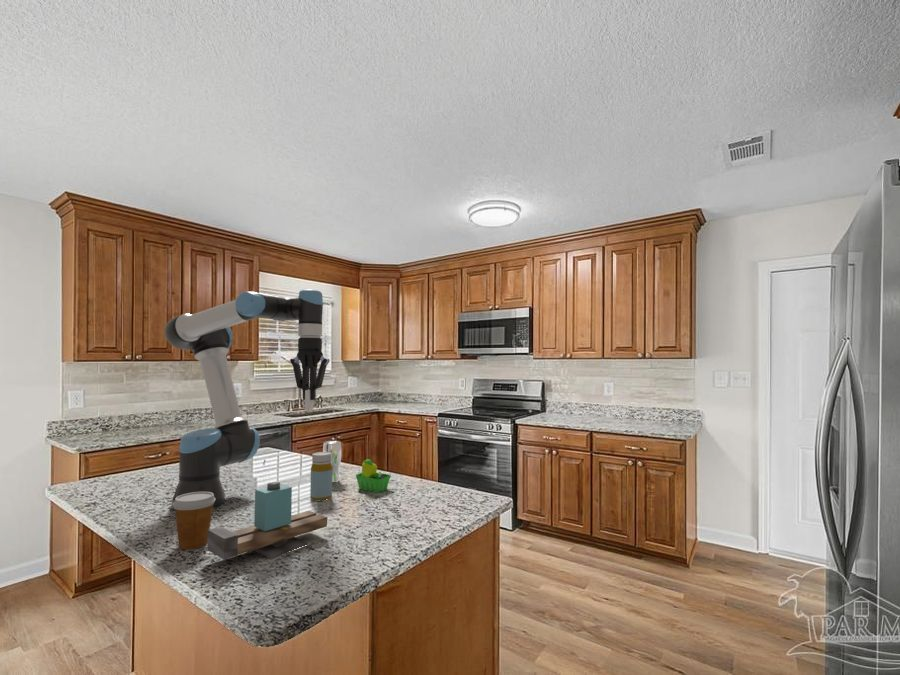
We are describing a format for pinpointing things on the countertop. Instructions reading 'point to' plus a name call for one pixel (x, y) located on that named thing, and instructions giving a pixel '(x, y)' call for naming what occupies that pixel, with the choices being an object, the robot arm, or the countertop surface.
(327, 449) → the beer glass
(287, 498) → the block
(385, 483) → the fruit basket
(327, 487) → the bottle
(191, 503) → the disposable coffee cup
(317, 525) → the balance beam
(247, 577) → the countertop surface
